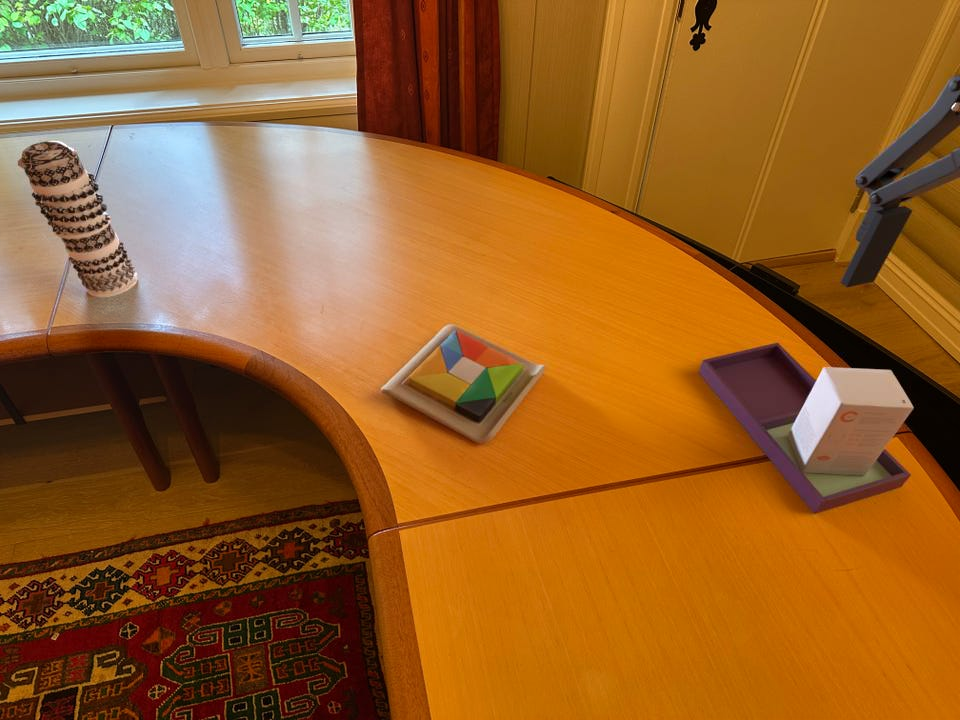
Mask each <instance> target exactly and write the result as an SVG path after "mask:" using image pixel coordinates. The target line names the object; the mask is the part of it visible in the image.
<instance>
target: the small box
mask: <svg viewBox="0 0 960 720" xmlns="http://www.w3.org/2000/svg"><path fill="white" fill-rule="evenodd" d="M913 410H914V406H913V404H912V402H911V400H910V399H909V397H908V395H907V394H906V392H905V390H904V389H903V387H902V386H901V384H900V382H899V380H898V379H897V377H896V376H895V374H894V372H893V370H891V369H881V368H880V369H878V368H877V369H875V368H858V367H857V368H856V367H855V368H854V367H853V368H852V367H836V366H835V367H834V366H823V367H822V369H821V372H820V373H819V375H818V377H817V378H816V383H815V384H814V386H813V388H812V390H811V392H810V394H809V396H808V398H807V400H806V402H805V403H804V405H803V407H802V409H801V411H800V413H799V415H798V417H797V419H796V420H795V422H794V424H793V426H792V428H791V430H790V432H789V434H788V439H789V441H790V444H791V446H792V449H793V451H794V454H795V457H796V460H797V462H798V465H799V467H800V470H801V471H802V473H821V474H839V475H858V476H865V475H866V473H867V472H868V471H869V469H870V468H871V467H872V465H873V464H874V462H875V461H876V460H877V458H878V457H879V455H880V454H881V453H882V451H883V450H884V449H886V447H887V446H888V445H889V443H890V441H891V440H892V439H893V438H894V436H895V435H896V433H897V432H898V431H899V429H900V428H901V427H902V426H903V424H904V422H905V421H906V419H907V418H908V417H909V415H910V414H911V413H912V411H913Z"/></svg>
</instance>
